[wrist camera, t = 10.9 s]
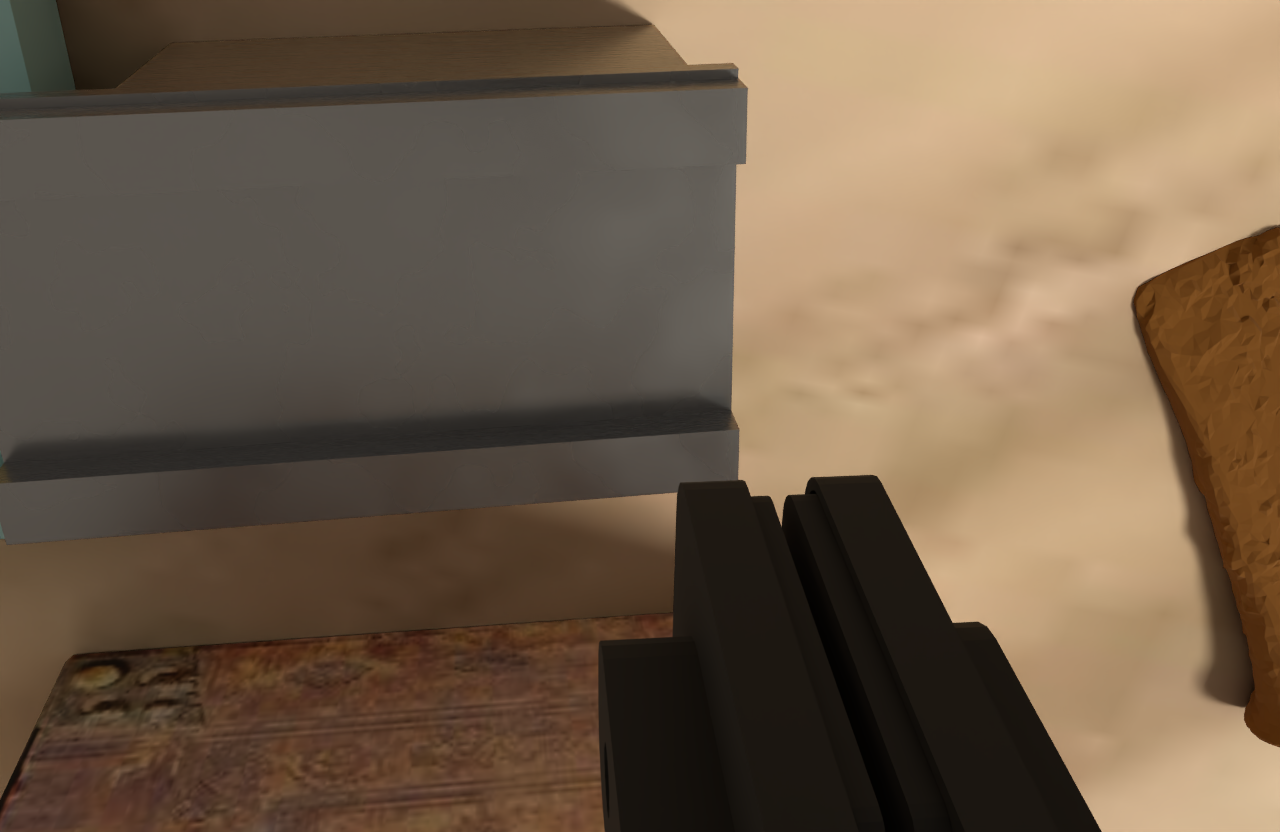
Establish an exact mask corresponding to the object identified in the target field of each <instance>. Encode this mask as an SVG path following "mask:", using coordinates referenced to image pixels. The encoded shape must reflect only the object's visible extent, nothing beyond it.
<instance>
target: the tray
mask: <svg viewBox="0 0 1280 832" xmlns="http://www.w3.org/2000/svg"><path fill="white" fill-rule="evenodd" d="M66 90H76V88H75V84H74V79H73V75H72V70H71V66H70V62H69V57H68V53H67V48H66V44H65V39H64V35H63V30H62V26H61V21H60V17H59V13H58V8H57V4H56V0H0V93H17V92H42V91H66ZM3 463H4V461H3V458H2V455H1V451H0V468H1V466H2V465H3ZM0 539H5V537H4V534H3V531H2V527H1V524H0Z"/></svg>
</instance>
